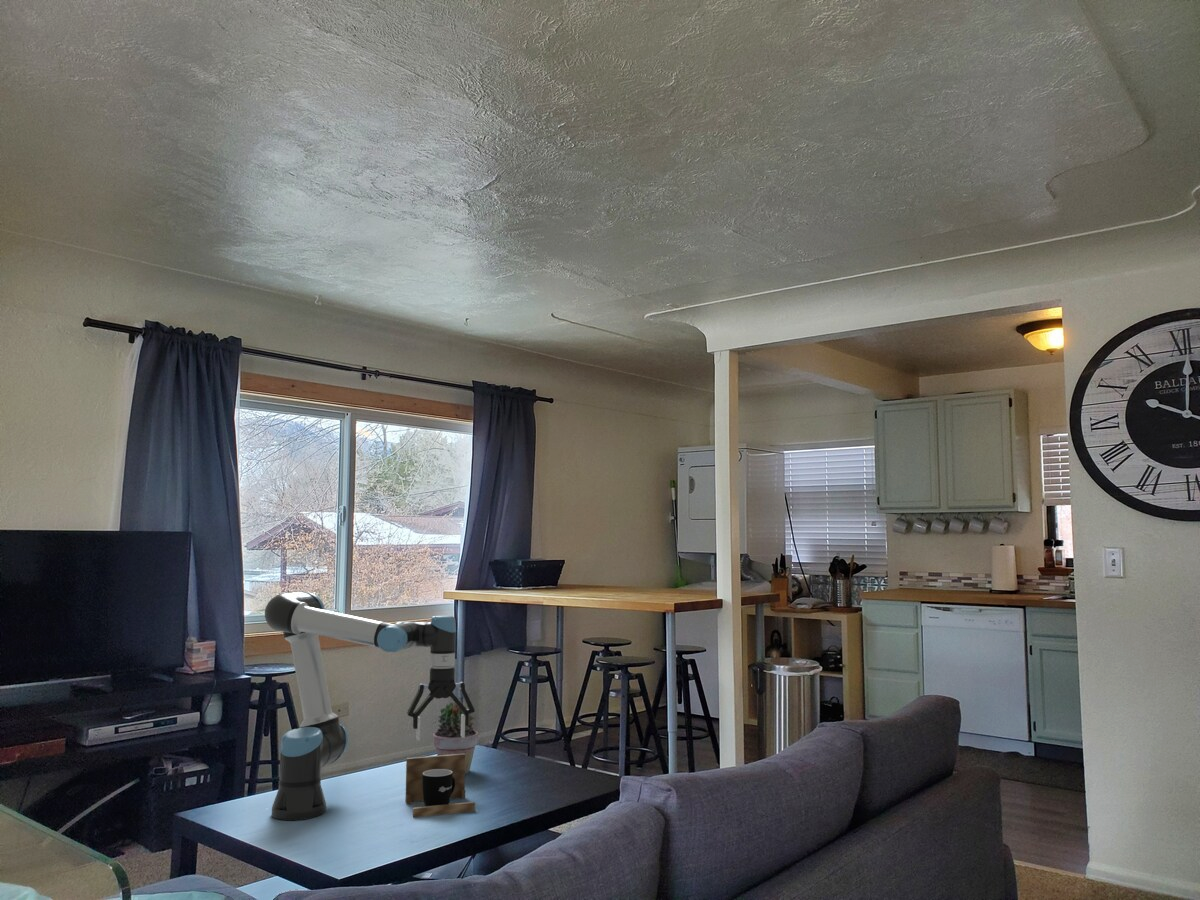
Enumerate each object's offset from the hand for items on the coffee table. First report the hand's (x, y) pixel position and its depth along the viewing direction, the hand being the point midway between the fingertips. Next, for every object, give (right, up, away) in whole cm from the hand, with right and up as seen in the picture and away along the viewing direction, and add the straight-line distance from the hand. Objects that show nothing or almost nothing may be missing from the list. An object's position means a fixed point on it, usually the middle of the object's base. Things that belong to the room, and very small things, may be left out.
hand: (440, 738), depth 265 cm
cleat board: (0, -20, -2) cm, 20 cm away
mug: (0, -20, -2) cm, 20 cm away
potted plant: (-3, -25, +40) cm, 47 cm away
